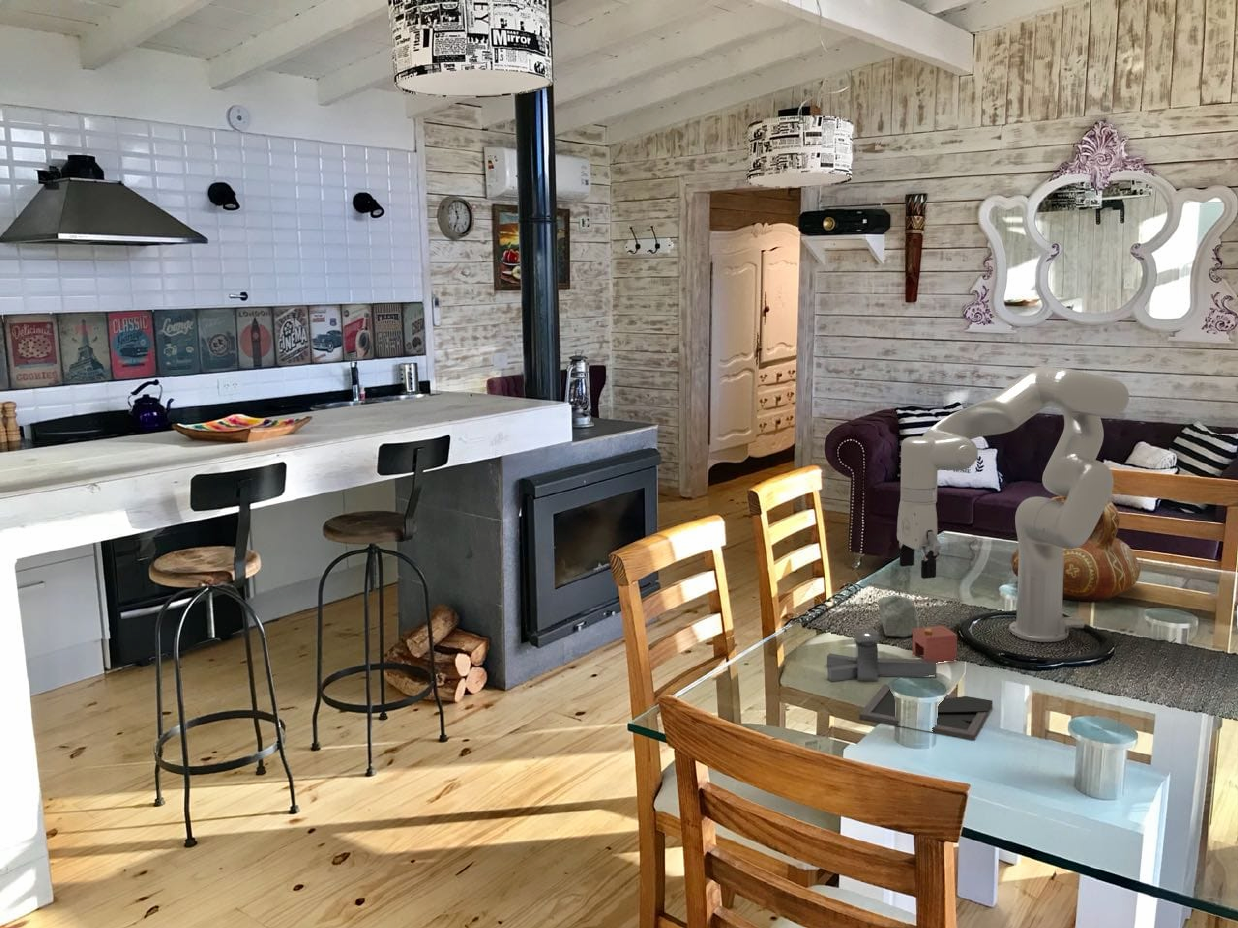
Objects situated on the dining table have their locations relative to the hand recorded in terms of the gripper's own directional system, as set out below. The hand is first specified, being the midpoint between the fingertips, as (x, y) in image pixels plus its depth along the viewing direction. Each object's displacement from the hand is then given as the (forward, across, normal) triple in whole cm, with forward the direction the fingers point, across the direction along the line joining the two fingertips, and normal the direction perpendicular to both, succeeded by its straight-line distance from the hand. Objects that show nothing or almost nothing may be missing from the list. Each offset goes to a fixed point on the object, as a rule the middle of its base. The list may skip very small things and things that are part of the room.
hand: (917, 571), depth 226 cm
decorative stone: (+19, -14, +3) cm, 24 cm away
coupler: (+19, +9, -12) cm, 24 cm away
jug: (+19, -28, +58) cm, 67 cm away
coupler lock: (+19, +4, +2) cm, 19 cm away
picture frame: (+19, +29, -13) cm, 37 cm away
